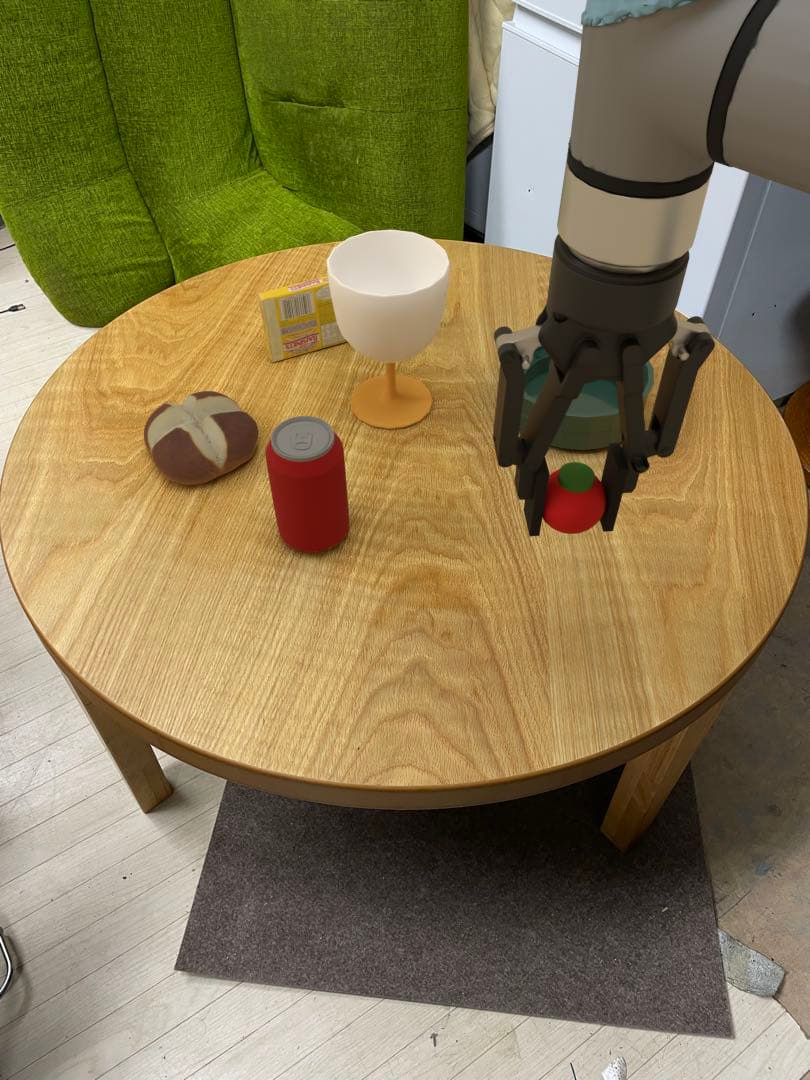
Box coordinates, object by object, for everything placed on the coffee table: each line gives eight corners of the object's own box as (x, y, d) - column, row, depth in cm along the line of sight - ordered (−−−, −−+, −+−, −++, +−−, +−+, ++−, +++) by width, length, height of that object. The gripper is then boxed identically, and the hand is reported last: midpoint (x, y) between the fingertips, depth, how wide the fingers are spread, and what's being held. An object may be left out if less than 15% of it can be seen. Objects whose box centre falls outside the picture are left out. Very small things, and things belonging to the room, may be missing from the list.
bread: (167, 500, 85) (156, 464, 81) (138, 430, 92) (127, 393, 88) (274, 466, 88) (268, 429, 84) (239, 400, 95) (232, 363, 91)
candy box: (394, 318, 105) (392, 256, 98) (401, 328, 103) (400, 266, 97) (266, 353, 100) (256, 291, 94) (272, 363, 99) (262, 301, 93)
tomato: (608, 511, 67) (620, 462, 63) (588, 556, 64) (600, 508, 60) (547, 491, 68) (555, 442, 64) (524, 534, 65) (532, 486, 61)
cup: (422, 359, 99) (424, 220, 87) (461, 422, 92) (469, 281, 79) (324, 381, 97) (310, 242, 84) (356, 449, 90) (347, 307, 77)
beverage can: (351, 504, 84) (344, 409, 75) (348, 558, 80) (340, 464, 71) (282, 505, 84) (266, 410, 75) (275, 558, 80) (258, 464, 71)
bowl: (660, 384, 96) (670, 347, 92) (619, 471, 87) (629, 434, 83) (532, 348, 101) (536, 311, 97) (480, 427, 92) (483, 390, 88)
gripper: (757, 198, 51) (670, 478, 69) (455, 212, 50) (445, 492, 68) (805, 267, 46) (698, 550, 64) (472, 284, 46) (456, 566, 63)
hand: (567, 520), depth 66 cm, fingers closed on tomato, 5 cm apart
